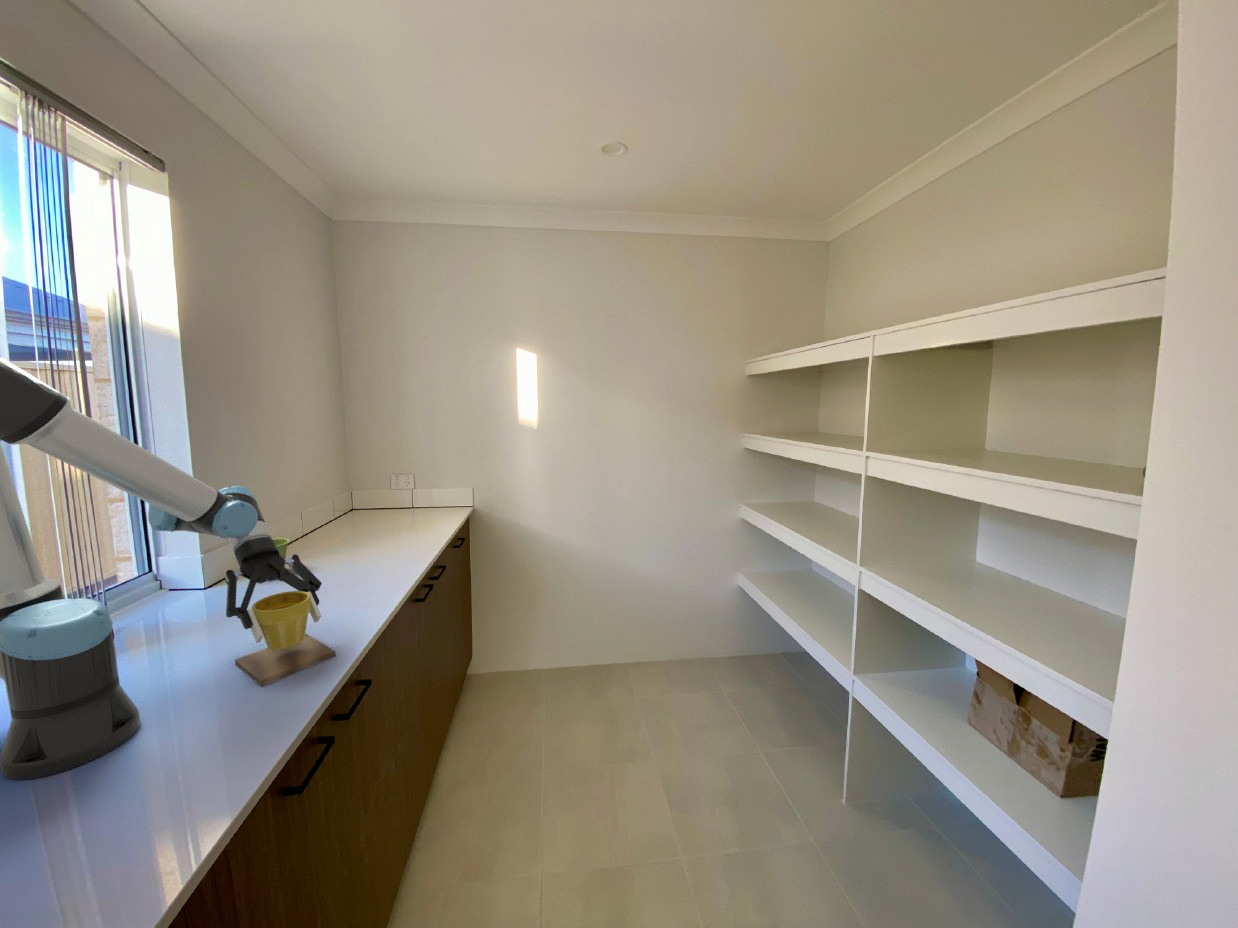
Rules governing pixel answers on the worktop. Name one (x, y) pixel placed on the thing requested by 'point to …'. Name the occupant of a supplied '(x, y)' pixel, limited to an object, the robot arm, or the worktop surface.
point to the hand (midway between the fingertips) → (290, 628)
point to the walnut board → (283, 660)
